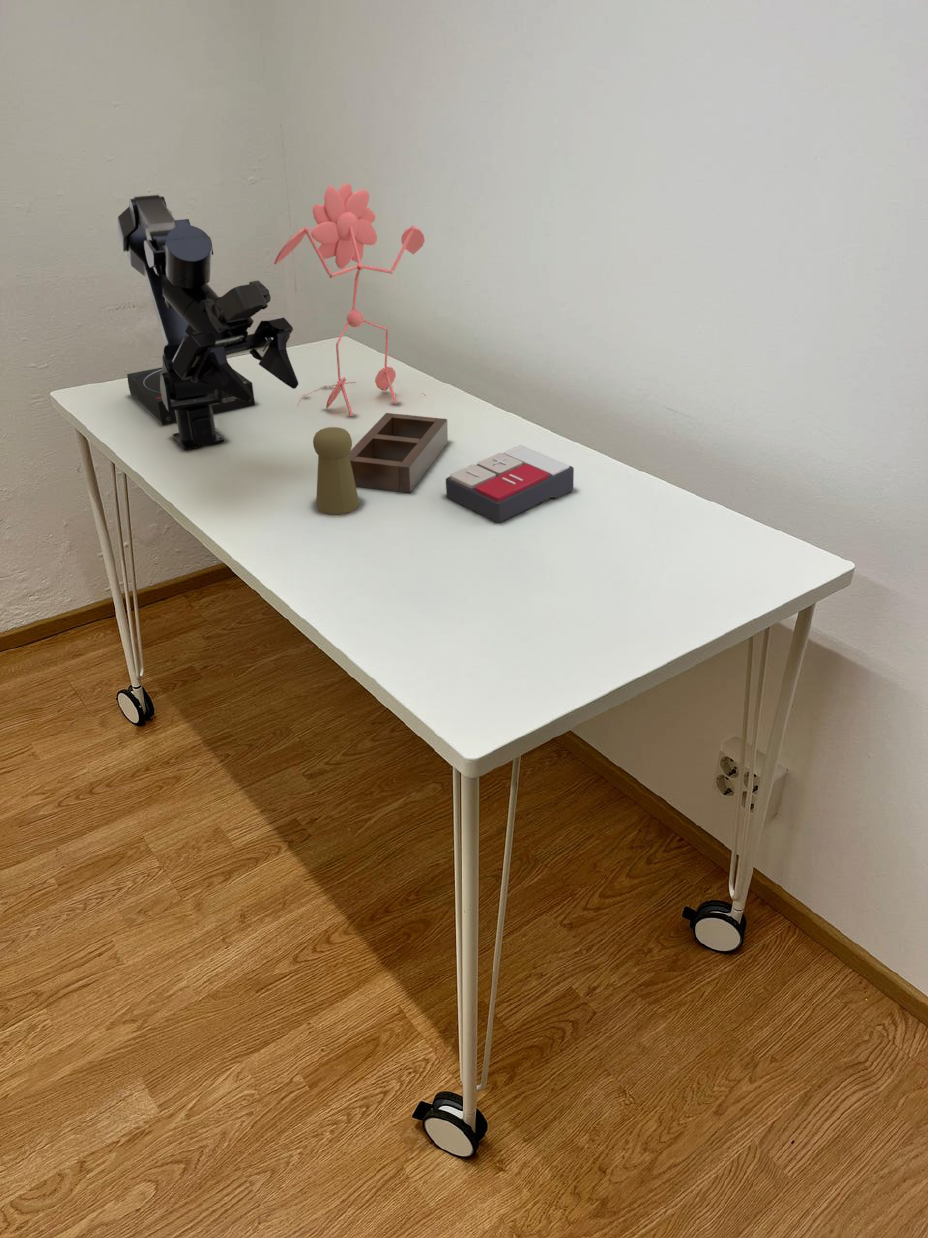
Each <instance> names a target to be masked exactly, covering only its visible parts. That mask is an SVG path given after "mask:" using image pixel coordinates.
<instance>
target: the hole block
mask: <svg viewBox="0 0 928 1238" xmlns="http://www.w3.org/2000/svg"><path fill="white" fill-rule="evenodd" d="M448 430H449V429H448V418H441V417H440V418H439V417H432V416H421V415H413V414H412V415H411V414H402V413H401V414H400V413H394V412H393V413H391V412H385V413H384V414H383V415H382V416H381V417H380V419H379V420H378V421H376V423H375V424H374V425H372V427H371V428H370V429H369V430H368V431H367V433H365V434H364V435H363V436H362V438H361V439H359V441H358V442H357V443H356V444H355V445H354V446H353V447H351V450H350V452H349V458H350V462H351V467H352V472H353V476H354V481H355V485H356V488H357V487H359V488H367V489H375V490H382V491H383V490H384V491H391V492H397V493H399V492H400V493H406V494H411V492H412V491H413V490H414V488H415V487H416V486H417V484H418V483H419V482H420V480H421V479H422V478H423V476H424V475H425V474H426V472H427V471H428V470H429V468H431V466H432V465H433V463H434V462H435V461H436V459H438V457H439V455H440V454H441V453H442V451H443V450H444V448H445V447H446V446H447V444H448V442H449V437H448V435H449V434H448Z"/></svg>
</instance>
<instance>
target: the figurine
mask: <svg viewBox="0 0 928 1238" xmlns="http://www.w3.org/2000/svg"><path fill="white" fill-rule="evenodd" d="M369 200H370V193H369V191H368V190H366V189H359V190H356V191H355V192H353V190H352V185H351V184H350V183H349V182H346V183H343V184H342V185H341V186H340V187H339V188H338V190H337V189H336V188H335V187H334V186H333V185H330V186H327V187H326V189H325V191H324V197H323V201H324V204H317V203H315V204H314V205H313V206H312V216H313V219H314V221H315V222H316V224H317V225H315V226H314V227H313V228H312V229H311V232H310V229H309V228H310V227H308V226H304V227H303V228H301V229H299V230H298V231H297V232H296V233H295V234H294V235H293V236H292V237H290V239H289V240H288V241H287V242H285V244H284V245H283V247H282V248H281V249H280V251H279V252H278V254H277V256H276V258H275V260H274V262H273V264H274V265H275V266H276V265H277V264H279V263H280V262H281V261H283V260H284V259H285V258H286V257H287V256H289V255H290V254H291V253H292V252H294V250H295V249H296V247H297V246H298V245H299V244H300V243H301V242H302V240H303V238H304V237H305V235H306V236H307V238H308V240H309V242H310V243H311V245H312V248H313V249H314V251H315V252H316V255H317V257H318V259H319V261H320V262H321V264H322V266H323V268H324V270H325V272H326V274H327V276H329V279H332V278H335V277H337V276H340V275H343V274H346V273H348V272H352V271H354V270H356V273H355V276H354V284H353V295H352V307H351V308H352V309H351V310H350V311H349V312H348V313H347V315H346V323H345V325H344V327H343V329H342V331H341V333H340V336H339V337H338V339H337V341H336V344H335V350H336V364H337V365H336V366H337V375H338V376H337V377H338V378H337V379H338V381H337V384H332V385H328V386H327V385H323V386H321V387H319V388H318V389H315V390H313V391H311V392H309V393H307V394H306V395H305V394H302V395H301V396H300V400H299V401H298V402H297V405H296V406H299V403H300V402H301V401H302V400H303V399H304V398H306V397H307V396H309V395H311V394H312V393H315V392H317V391H320V390H323V389H327V388H330V387H333V390H332V391H331V393H330V394H329V396H328V398H327V400H326V405H325V409H329V407H331V405H332V404H333V403H334V401H335V400H336V399H337V397H338V396H339V394H340V393H342V395H343V399H344V402H345V405H346V408H347V411H348V414H349V417H353V416H354V414H353V411H352V407H351V405H350V404H351V403H350V401H349V397H348V395H347V392H346V388H345V385H346V384H355V383H357V381H351V382H350V381H349V382H346V381H347V378H346V377H345V376H343V377H342V378H341V366H340V351H339V350H340V349H339V344H340V342H341V340H342V338H343V336H344V334H345V332H346V331H347V328H348V327H349V326H350V327H352V328H359V327H360V326H361V325H362V324H363V323H366V324H368V325H371V326H373V327H376V328H378V329H381V330H384V331H385V345H384V347H385V349H384V367H383V368H381V369H380V370H379V371H378V373H377V374H376V376H375V380H374V383H375V385H376V388H377V389H379V390H381V391H383V392H386V391H388V389H389V391H390V395H391V398H392V401H393V404H394V405H396V404H398V402H397V398H396V395H395V391H394V387H393V383H394V382H395V379H396V375H397V373H396V371H395V369H394V368H393V366H388V351H389V349H388V347H389V328H387V327H385V326H382V325H379V324H376V323H374V322H371V321H369V320H366V319H365V318H364V315H363V313H362V312H361V311H359V310H357V309H356V303H357V302H356V300H357V293H358V285H359V276H360V274H361V271H363V269H364V270H370V271H375V272H380V273H386V274H390V275H393V272H395V270H396V268H397V266H398V264H399V262H400V260H401V258H402V256H403V254H404V252H405V250H406V251H408V252H409V253H410V254H412V255H415V254H416V253H417V252H418V251H419V250H421V249H422V248H423V246H424V244H425V234H424V233H423V231H422V230H421V228H418V227H416V226H415V225H411V226H410V227H408V228H406V229H405V230H404V231H403V233H402V234H401V238H400V239H401V240H400V242H401V245H402V246H401V248H400V250H399V252H398V254H397V256H396V259H395V261H394V263H393V264H392V266H391V269H387V268H382V267H377V266H370V265H365V264H363V263H362V260H363V256H364V246H373V245H376V243H377V242H378V235H377V233H376V230H375V227H374V226H373V223H374V222H375V221H376V214H375V212H374V211H373V210H371V208H369V207H368V203H369ZM316 242H317V243H319V244H320V245H319V247H318V246H317V244H316ZM333 257H335V258H334V259H335V261H334V263H335V264H336V266H337V268H339V269H341V270H338V271H336V272H333V273H332V272H331V270H330V268H329V267H328V264H327V262H326V260H325V259H329V258H333ZM351 260H352V261H353V262H354V263H357V264H356V265H352V266H351V267H347V268H346V266H347V265H349V263H351ZM421 394H422V395H423V396H425V397H427V396H426V394H425V393H424V392H421Z"/></svg>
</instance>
